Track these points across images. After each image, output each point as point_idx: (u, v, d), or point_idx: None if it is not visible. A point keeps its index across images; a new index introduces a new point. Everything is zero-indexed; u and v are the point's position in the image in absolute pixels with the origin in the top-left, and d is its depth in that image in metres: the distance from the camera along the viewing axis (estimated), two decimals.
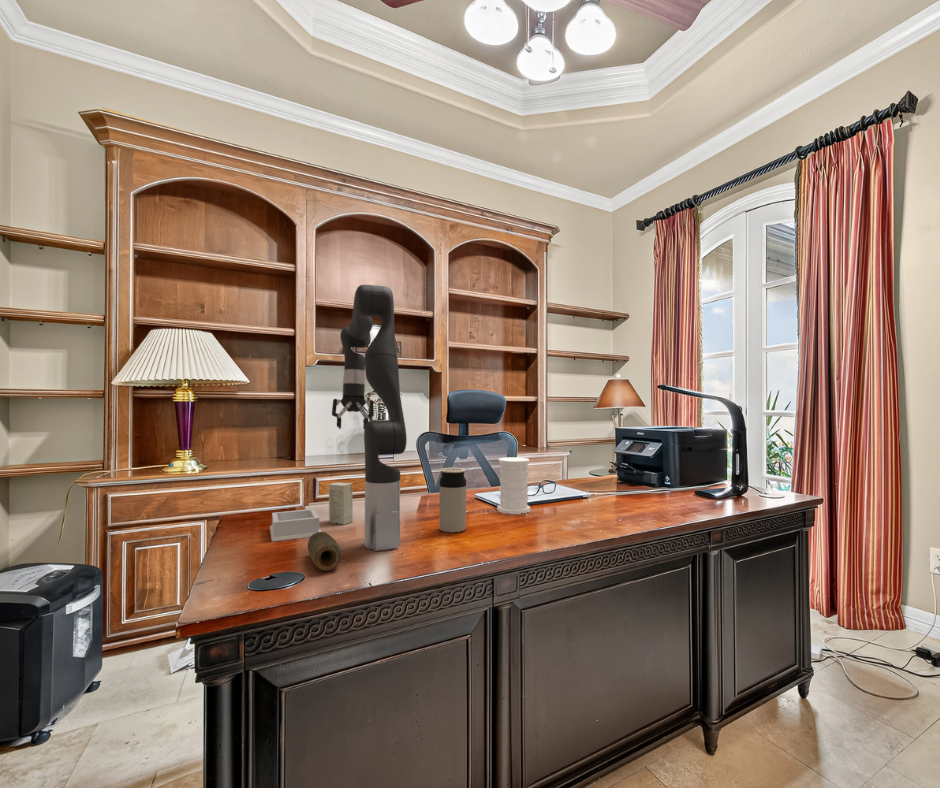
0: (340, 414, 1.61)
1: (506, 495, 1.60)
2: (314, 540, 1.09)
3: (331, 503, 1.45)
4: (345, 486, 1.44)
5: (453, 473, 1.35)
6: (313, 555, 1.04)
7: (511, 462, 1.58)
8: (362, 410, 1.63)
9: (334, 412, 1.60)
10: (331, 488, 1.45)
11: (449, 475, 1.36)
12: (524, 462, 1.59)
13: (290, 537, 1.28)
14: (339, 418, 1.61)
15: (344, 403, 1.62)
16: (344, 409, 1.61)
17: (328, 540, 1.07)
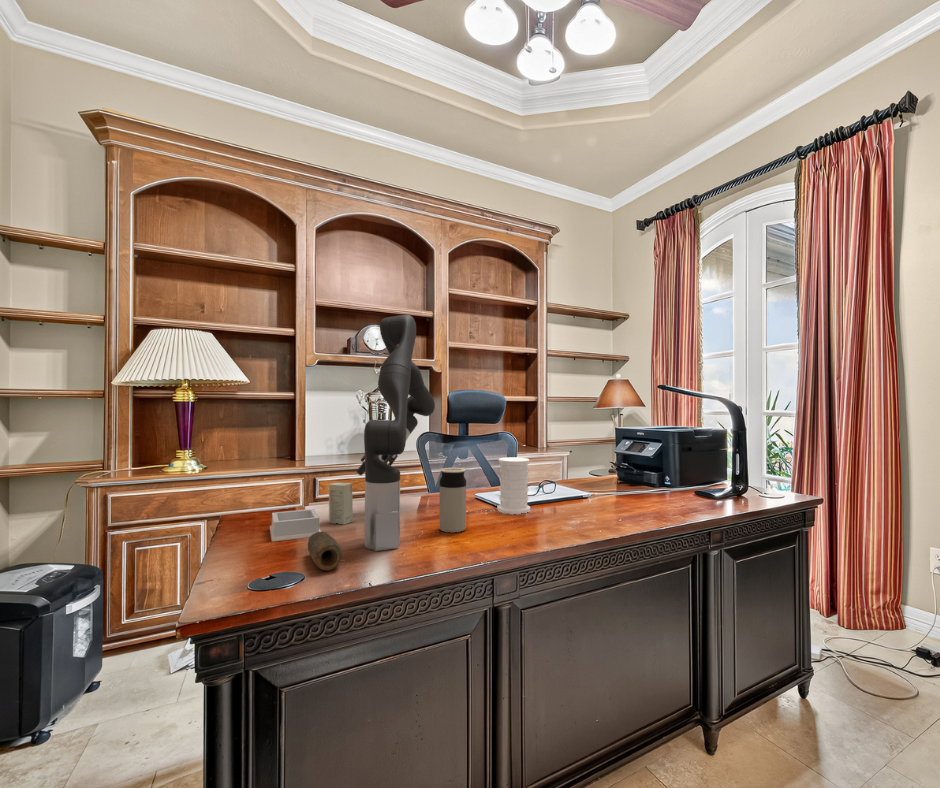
0: (365, 460, 1.58)
1: (506, 495, 1.60)
2: (314, 540, 1.09)
3: (331, 503, 1.45)
4: (345, 486, 1.44)
5: (453, 473, 1.35)
6: (314, 555, 1.04)
7: (511, 462, 1.58)
8: (379, 457, 1.53)
9: (363, 458, 1.59)
10: (331, 488, 1.45)
11: (449, 475, 1.36)
12: (524, 462, 1.59)
13: (290, 537, 1.28)
14: (362, 463, 1.57)
15: None
16: None
17: (329, 540, 1.07)
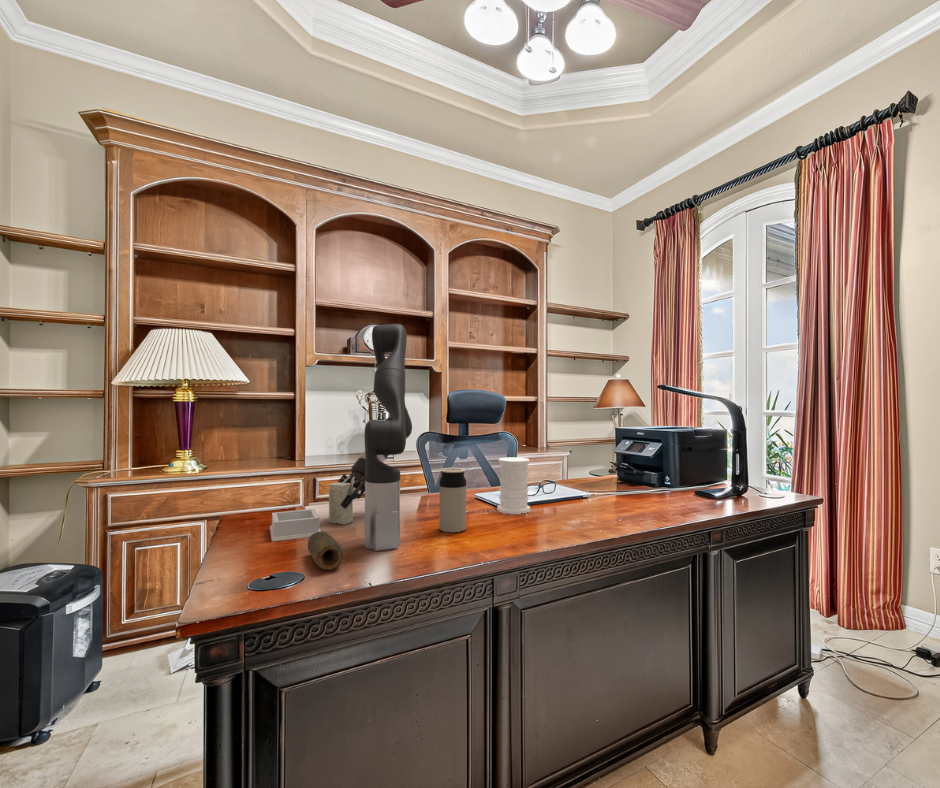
0: None
1: (506, 495, 1.60)
2: (315, 540, 1.10)
3: (331, 503, 1.45)
4: (345, 486, 1.44)
5: (453, 473, 1.35)
6: (315, 555, 1.04)
7: (511, 462, 1.58)
8: (351, 485, 1.46)
9: None
10: (331, 488, 1.45)
11: (449, 475, 1.36)
12: (524, 462, 1.59)
13: (290, 537, 1.28)
14: None
15: None
16: (342, 482, 1.50)
17: (330, 539, 1.07)
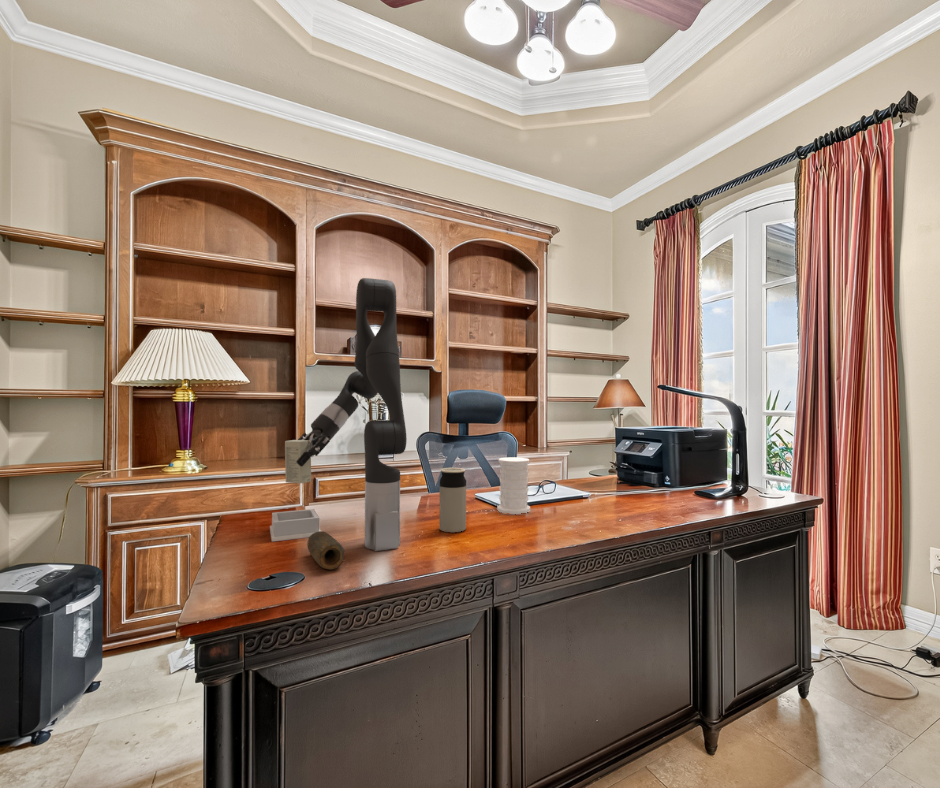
0: None
1: (506, 495, 1.60)
2: (316, 539, 1.10)
3: (287, 461, 1.34)
4: (302, 442, 1.33)
5: (453, 473, 1.35)
6: (317, 554, 1.04)
7: (511, 462, 1.58)
8: (309, 442, 1.35)
9: None
10: (287, 445, 1.35)
11: (449, 475, 1.36)
12: (524, 462, 1.59)
13: (290, 537, 1.28)
14: None
15: None
16: None
17: (331, 539, 1.07)
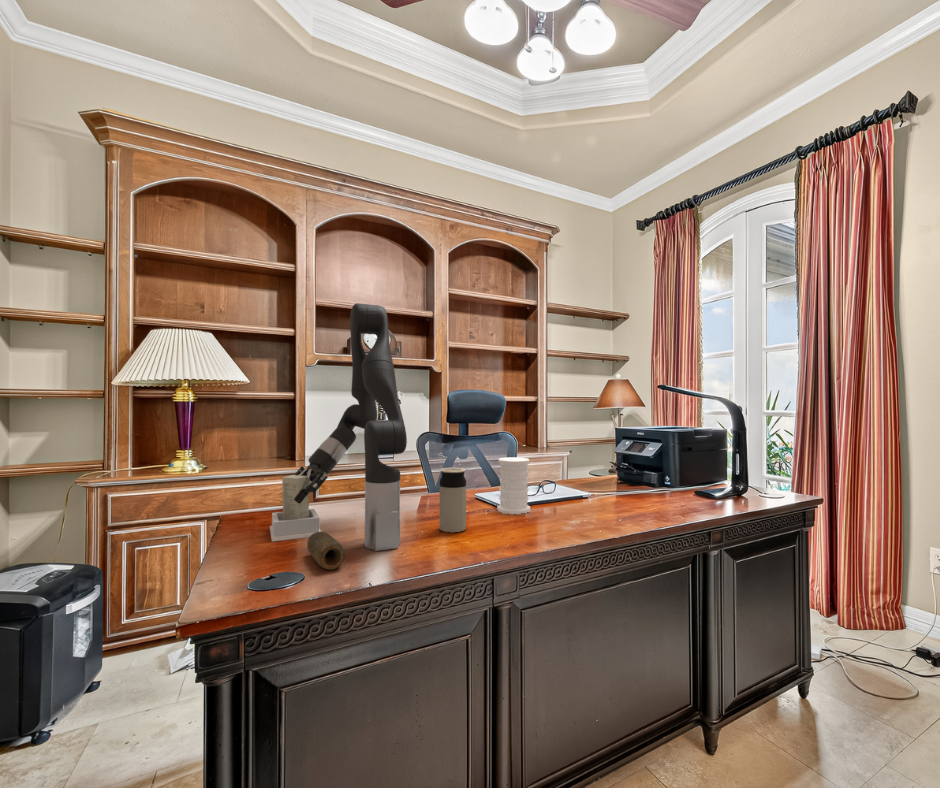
0: None
1: (506, 495, 1.60)
2: (316, 540, 1.10)
3: (285, 497, 1.34)
4: (299, 479, 1.33)
5: (453, 473, 1.35)
6: (317, 554, 1.04)
7: (511, 462, 1.58)
8: (306, 478, 1.35)
9: None
10: (284, 481, 1.34)
11: (449, 475, 1.36)
12: (524, 462, 1.59)
13: (290, 537, 1.28)
14: None
15: None
16: None
17: (331, 539, 1.07)
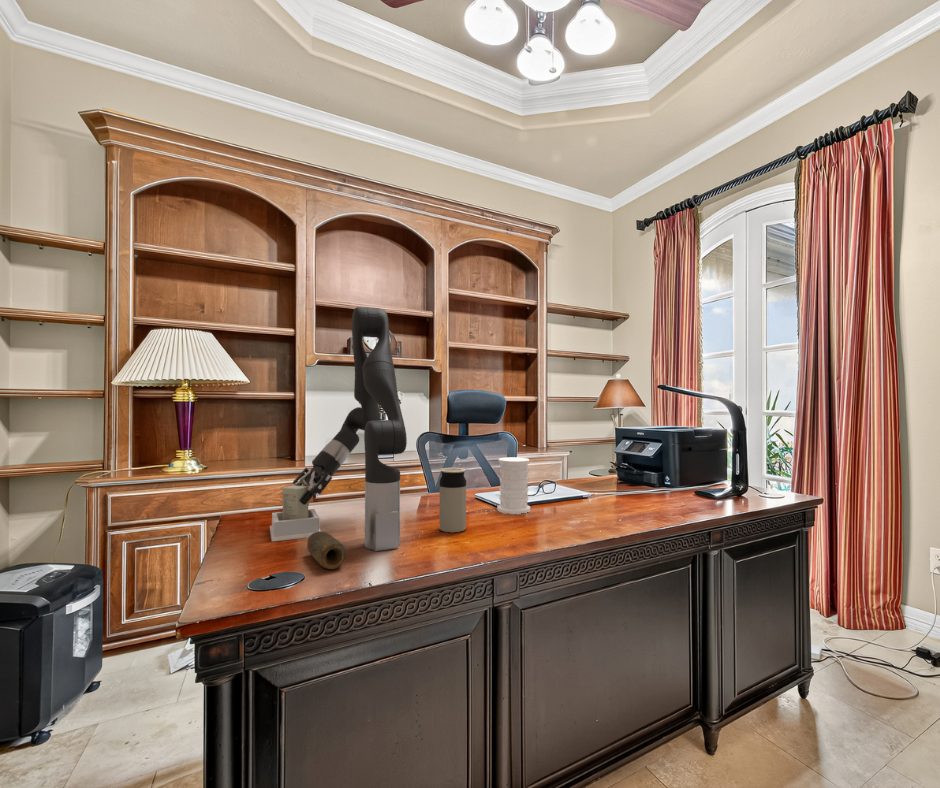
0: (297, 482, 1.40)
1: (506, 495, 1.60)
2: (316, 539, 1.10)
3: (285, 508, 1.34)
4: (299, 489, 1.33)
5: (453, 473, 1.35)
6: (318, 554, 1.05)
7: (511, 462, 1.58)
8: (311, 480, 1.35)
9: (295, 480, 1.41)
10: (284, 492, 1.34)
11: (449, 475, 1.36)
12: (524, 462, 1.59)
13: (290, 537, 1.28)
14: None
15: None
16: (302, 477, 1.40)
17: (332, 539, 1.07)
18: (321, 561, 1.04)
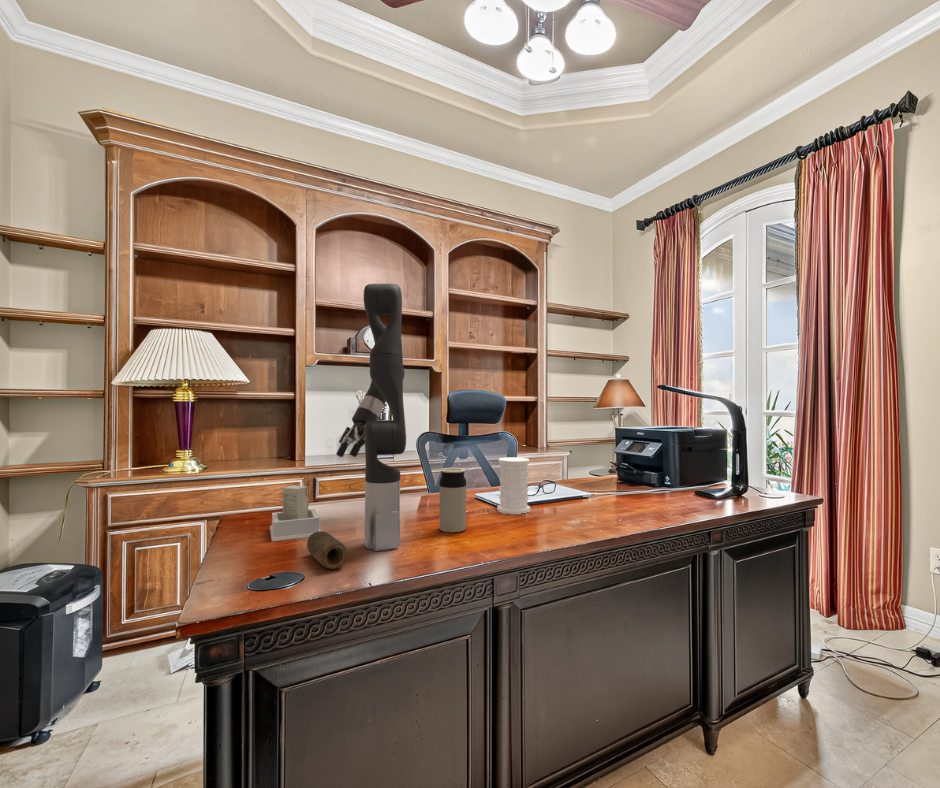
0: (343, 440, 1.51)
1: (506, 495, 1.60)
2: (317, 539, 1.10)
3: (285, 508, 1.34)
4: (299, 489, 1.33)
5: (453, 473, 1.35)
6: (319, 554, 1.05)
7: (511, 462, 1.58)
8: (355, 434, 1.46)
9: (340, 439, 1.53)
10: (284, 492, 1.34)
11: (449, 475, 1.36)
12: (524, 462, 1.59)
13: (290, 537, 1.28)
14: None
15: None
16: (346, 435, 1.51)
17: (333, 539, 1.07)
18: (322, 561, 1.04)
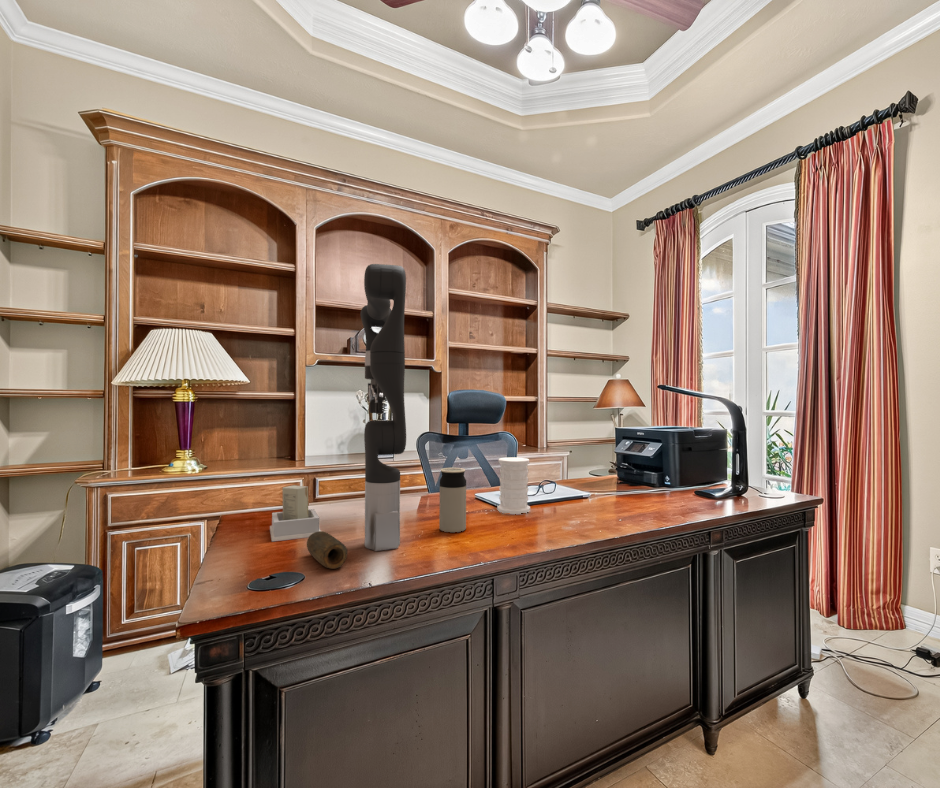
0: (369, 398, 1.59)
1: (506, 495, 1.60)
2: (317, 539, 1.10)
3: (285, 508, 1.34)
4: (299, 489, 1.33)
5: (453, 473, 1.35)
6: (320, 554, 1.05)
7: (511, 462, 1.58)
8: (373, 393, 1.52)
9: (368, 396, 1.61)
10: (284, 492, 1.34)
11: (449, 475, 1.36)
12: (524, 462, 1.59)
13: (290, 537, 1.28)
14: None
15: None
16: (368, 393, 1.57)
17: (333, 538, 1.08)
18: (323, 561, 1.04)
